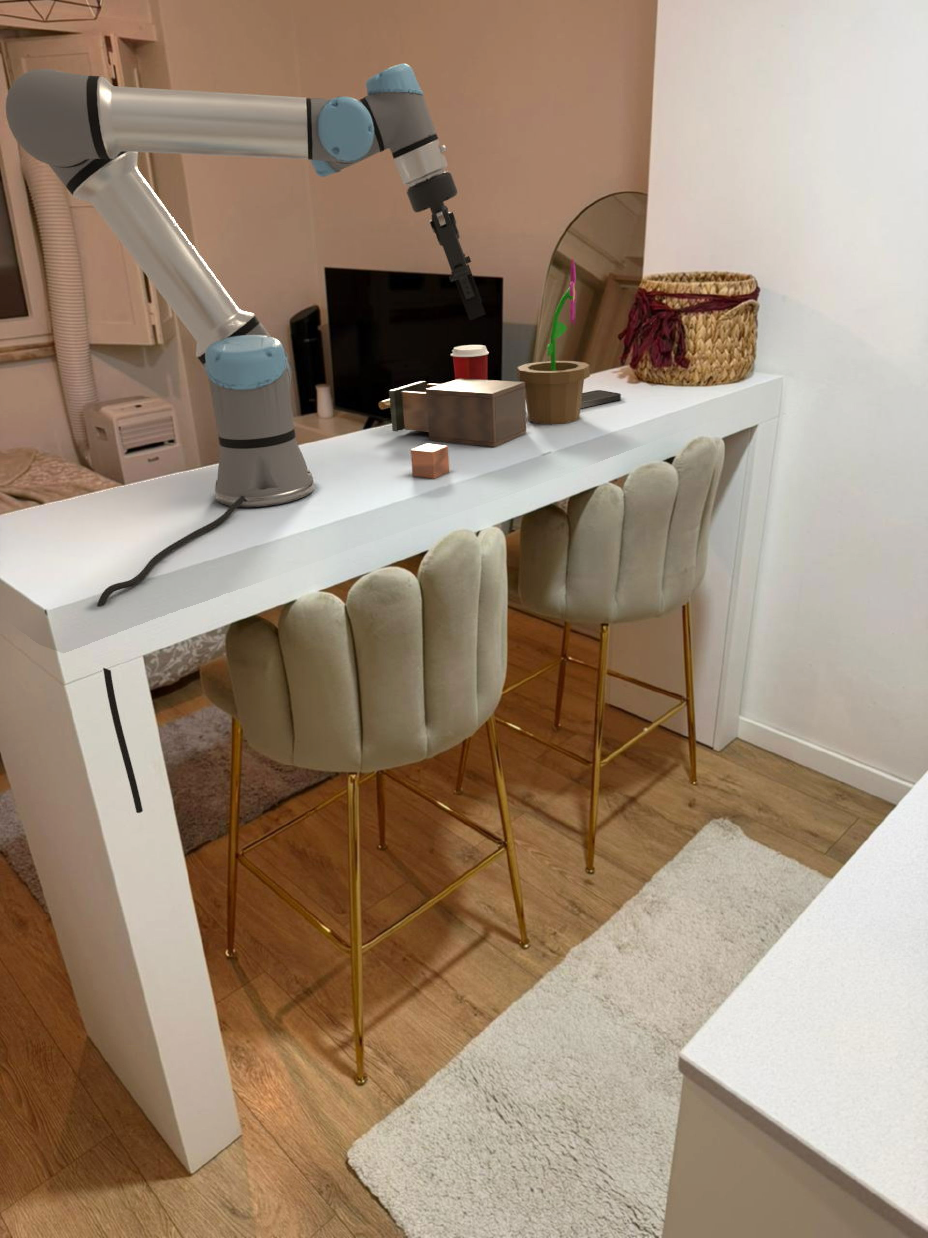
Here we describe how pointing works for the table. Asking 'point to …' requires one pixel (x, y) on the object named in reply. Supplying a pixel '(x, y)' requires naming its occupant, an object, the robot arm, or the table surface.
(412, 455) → the block
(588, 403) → the phone
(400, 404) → the drawer
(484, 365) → the paper cup
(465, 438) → the cabinet
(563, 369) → the flowerpot
